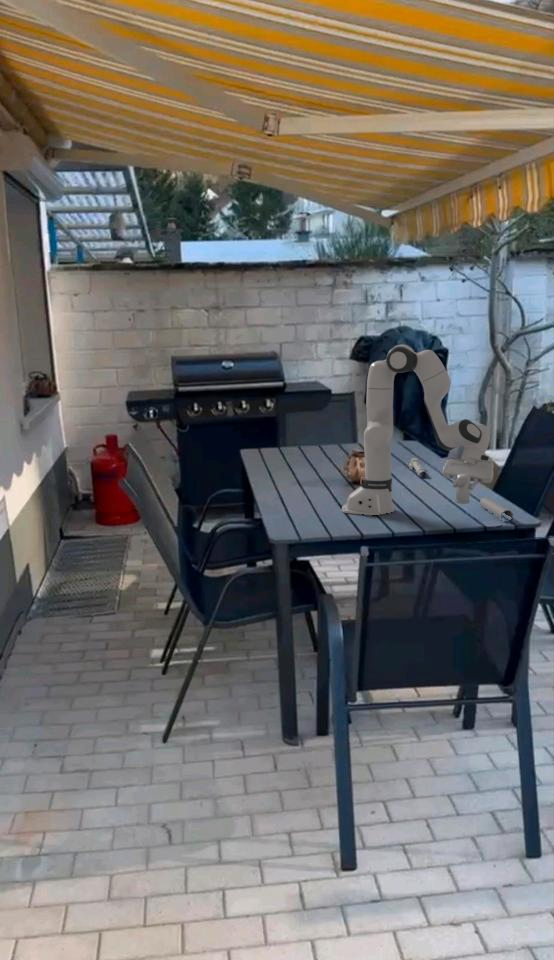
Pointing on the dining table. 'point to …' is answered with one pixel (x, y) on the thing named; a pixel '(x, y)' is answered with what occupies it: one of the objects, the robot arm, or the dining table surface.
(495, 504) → the tube
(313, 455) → the dining table surface
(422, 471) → the cream ribbed cylinder
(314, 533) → the dining table surface
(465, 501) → the elbow
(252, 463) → the dining table surface
